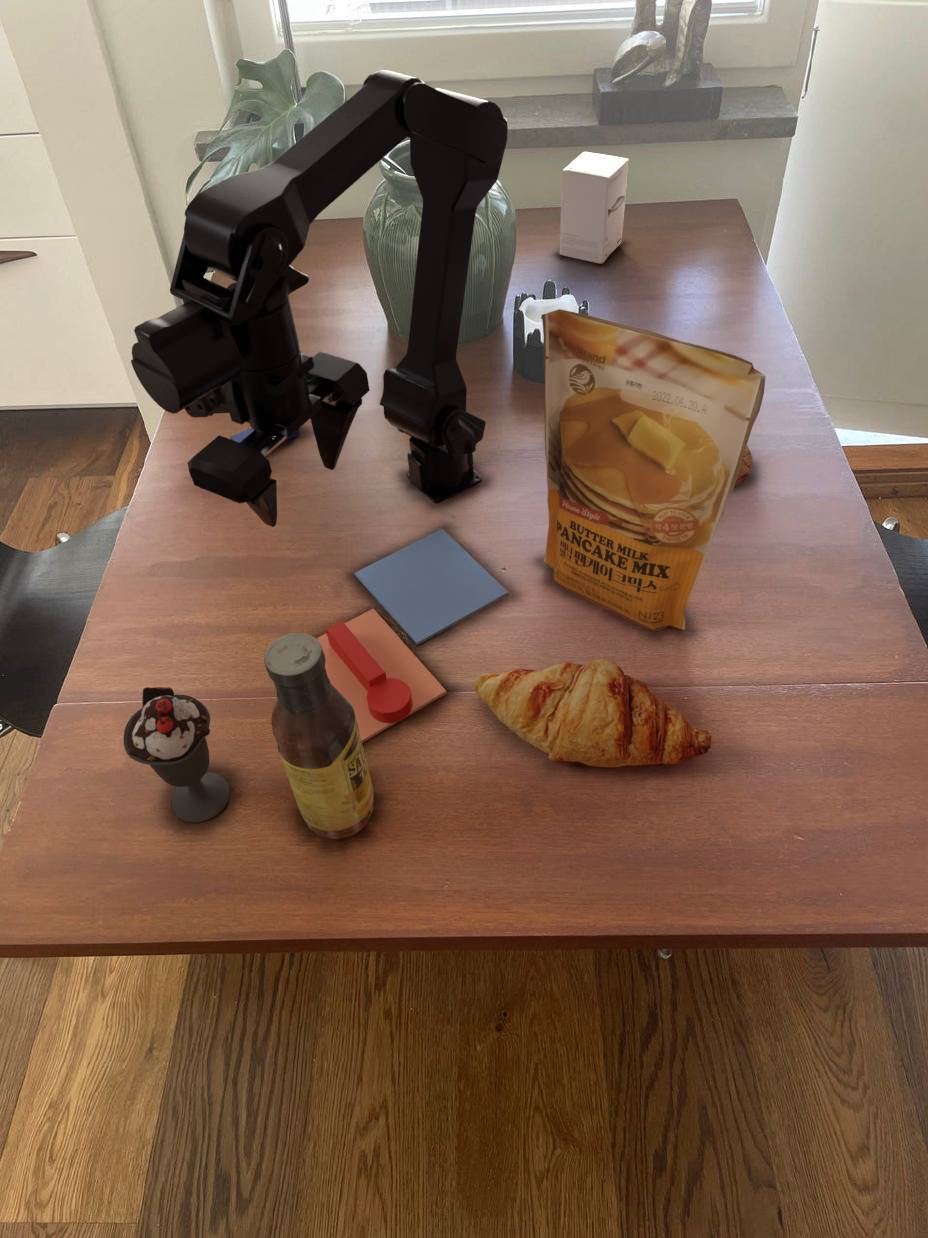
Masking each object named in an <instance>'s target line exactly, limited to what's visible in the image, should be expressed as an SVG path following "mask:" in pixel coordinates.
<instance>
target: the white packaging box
mask: <svg viewBox="0 0 928 1238" xmlns="http://www.w3.org/2000/svg"><path fill="white" fill-rule="evenodd" d="M628 171H629V158H626V157H621V156H620V157H619V156H613V155H608V154H602V153H595V152H589V151H583V152H582V153H580V154H579V155H578V156H577V157H576V158H575V159H573V160H572V161H571V162H570V163H569V164H568V165H567V166H566V167H565V168H563V169H562V171H561V196H560V198H561V199H560V227H559V229H560V231H559V252H558V253H559V255H560V256H564V257H568V258H573V259H577V260H582V261H585V262H586V261H587V262H591V263H595V264H601V265H603V263H604V262H605V261H606V260H607V259H608V257H610V255H611V254H612V253H613V252H614V251H616V250H617V248H618V247H619V246H620V245H621V244H622V241H623V232H624V221H625V220H624V219H625V207H626V196H627V184H628V183H627V182H628ZM621 238H622V239H621ZM620 239H621V240H620ZM619 240H620V241H619ZM618 241H619V242H618ZM617 242H618V243H617ZM606 254H607V255H606ZM588 255H589V256H588ZM605 255H606V256H605Z"/></svg>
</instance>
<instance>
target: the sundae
mask: <svg viewBox="0 0 928 1238" xmlns="http://www.w3.org/2000/svg"><path fill="white" fill-rule="evenodd" d="M141 704H142V707H141V708H140V709H139V710H137V711H136V712H135V713H134V714H132V715H131V717H130V718H129V720H128V721H127V723H126V724H125V728H124V731H123V746H124V750H125V752H126V755H127V756H128V757H129V758H130V759H132V760H133V761H135V762H138V763H140V764H144V765H148V766H150V767H151V769H152V770H153V771H154V772H155V774H157V776H158V777H159V778H160V779H162V780H163V781H164V782H165V783H166V784H168V785H169V786H171V787H175V790H174V792H173V794H172V796H171V808H172V811H173V813H174V815H175V816H176V817H178V818H179V819H180V820H182V821H183V822H187V823H193V824H194V823H195V824H196V823H202V822H207V821H209V820H210V819H212V818H215V817H216V816H217V815H219V814H220V813H221V812H222V811H223V810H224V808H226V806H227V804H228V802H229V799H230V797H231V794H230V793H231V789H230V788H231V787H230V785H229V782H228V781H227V780H226V778H225V777H223V776H222V775H221V774H218V773H216V772H213V771H212V772H210V771H208V770H209V767H210V750H209V746H208V742H207V736H209V735H210V733H211V730H210V726H211V714H210V711H209V710H208V708H207V707H206V706H205V705H204V704H203V703H202V702H201V701H200V700H198V699H197V698H195V697H193V696H190V695H187V694H186V695H185V694H175V692H174V689H173V688H172V687H169V686H167V687H164V686H154V687H150V686H149V687H148V686H147V687H144V688H143V689H142V703H141Z"/></svg>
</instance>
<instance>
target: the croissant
mask: <svg viewBox="0 0 928 1238" xmlns="http://www.w3.org/2000/svg"><path fill="white" fill-rule="evenodd" d="M474 689H475V692H476V694H477V696H478V698H479V699H480V700H481V701H482V702H483V704H484V705H486V706H487V707H488V708H489V709H490V710H491V711H492V712H493V714H494V715H495V717H496V718H497V719H498V720H499V721H500V722H501V723H502V724H503V725H505V726H506V727H508V729H509V730H510V731H511V732H513V733H515V734H516V735H517V736H518V737H519V738H520V739H521V740H523V741H524V742H527V743H529V744H530V745H532V746H533V747H535V748H536V749H538V750H540V751H542V752H544V753H546V754H548V759H549V760H550V761H552V762H554V761H557V762H558V761H563V762H572V763H574V762H578V763H581V764H584V765H585V766H587V767H588V766H589V767H597V768H619V767H624V766H625V767H626V766H644V765H658V764H664V765H677V764H679V763H682V762H685V761H688V760H691V759H692V758H697V757H700V756H703V755H706V754H708V753H709V751H710V749H711V748H712V746H713V740H712V739H713V736H712V734H711V733H710V732H709V730H706V729H700V728H698V727H696V726H692V725H690V722H689V721H688V719H687V716H686V714H684V713H683V712H680V711H679V710H678V709H677V707H676V706H675V707H672V706H671V705H670V704H668V703H666V702H664V700H663V699H662V698H659V697H657V696H655V695H654V694H653V693H652V691H651V690H650V689H649V687H647V683H646V682H644V681H642V680H640V679H637V678H634V677H633V676H630V675H629V674H625V672H624V670H623V669H622V668H621V666H619V664H618V663H616V662H615V661H614V660H611V659H608V658H605V657H598V658H597V659H593V660H591V661H589V662H588V663H587V664H584V665H583V664H582V663H575V662H572V661H568V662H567V661H566V662H565V663H561V662H560V663H559V662H558V663H556V664H554V665H551V666H549V667H548V668H545V669H537V670H536V669H525V668H516V669H512V670H507V671H505V672H502V673H501V674H499V673H495V672H489V673H483V674H480V675H479V676H478V677H476V678H475V680H474Z"/></svg>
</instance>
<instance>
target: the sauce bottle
mask: <svg viewBox="0 0 928 1238" xmlns="http://www.w3.org/2000/svg"><path fill="white" fill-rule="evenodd" d="M263 658H264V660H263V661H264V666H265V669H266V671H267V674H268V676H269V678H270V679H271V681H272V682H273V684H274V687H275V689H276V697H277V700H276V702H275V704H274V706H273V709H272V713H271V719H270V721H271V723H270V724H271V727H272V728H271V729H272V735H273V736H274V738H275V741H276V744H277V745H276V746H277V752H278V754H279V757H280V760H281V763H282V766H283V769H284V771H285V774H286V776H287V780H288V783H289V786H290V788H291V790H292V794H293V797H294V799H295V802H296V805H297V808H298V810H299V813H300V815H301V817H302V818H303V820H304V822H305V824H306V826H307V827H308V828H309V830H311V831H312V833H313V832H314V833H315V834H316V835H317V836H319V837H320V838H323V839H327V840H341V839H347V838H350V837H352V836H354V835H356V834H358V833H359V832H360V831H361V830H363V829H364V827H366V826H367V824H368V822H369V821H370V819H371V816H372V814H373V811H374V807H375V805H374V801H375V800H374V799H375V797H374V795H375V793H374V792H375V791H374V786H373V782H372V778H371V774H370V771H369V766H368V762H367V757H366V754H365V749H364V745H363V743H362V740H361V736H360V732H359V728H358V724H357V720H356V716H355V712H354V709H353V707H352V705H351V704H350V703H349V702H348V701H347V700H346V699H345V698H344V697H343V696H342V695H341V694H340V693H339V691H338V690H337V689H336V688H335V687H334V686H333V685H332V684H331V683H330V680H329V678H328V676H327V673H326V669H325V663H326V660H325V655H324V652H323V649H322V646H321V644H320V643H319V641H318V640H317V637H314V635H310V634H307V633H305V632H304V633H303V632H292V633H287V634H284V635H282V636H280V637H278V638H276V639H275V640H274V641H273V642H271V643H270V644H269V645H268V647H267V649H266V650H265V653H264V657H263Z"/></svg>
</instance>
